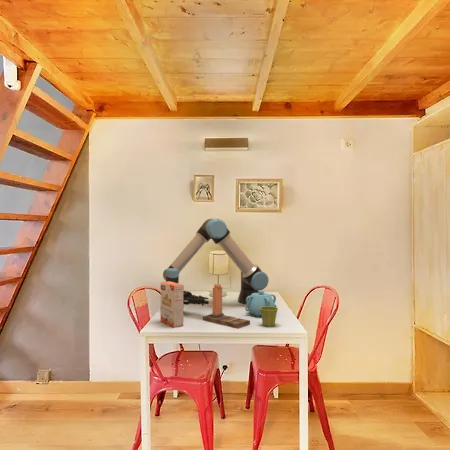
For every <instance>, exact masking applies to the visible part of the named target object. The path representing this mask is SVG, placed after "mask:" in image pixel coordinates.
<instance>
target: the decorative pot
mask: <svg viewBox="0 0 450 450" xmlns="http://www.w3.org/2000/svg"><path fill="white" fill-rule="evenodd" d="M258 292H259V293H252V294H251V296H248V297H247V298H246V303H247V304H246V306H245V308H244V310H245V311H246V312H249V314H251V315H254V316H255V317H256V318H260V317H261V318H262V315H261V310H260V307H264V306H270V307H276V308H277V304H276V299H277V297H276V295H275V294H272V293H271V294H269V293H267V292H265V290H259V291H258ZM248 299H249V301H248Z"/></svg>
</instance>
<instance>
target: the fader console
mask: <svg viewBox="0 0 450 450" xmlns="http://www.w3.org/2000/svg"><path fill="white" fill-rule="evenodd" d="M211 314H212V313H210V314H206V315H203V316H202V321H205V322H209V323H213V324H218V325H222V326H227V327H230V328H234V329H241V328H243V327H246V326H250V325H251V320H249V319H244V318H240V317H235V316H230V315H225V314H224V315H223V316H219V317H213V316H211Z"/></svg>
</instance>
